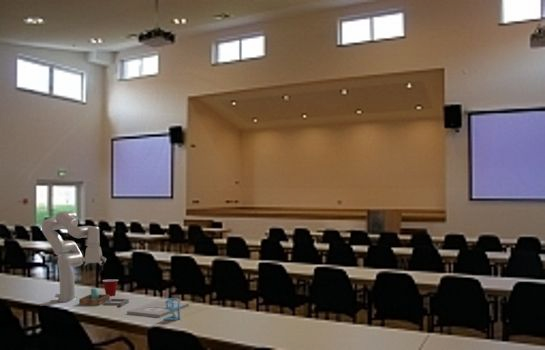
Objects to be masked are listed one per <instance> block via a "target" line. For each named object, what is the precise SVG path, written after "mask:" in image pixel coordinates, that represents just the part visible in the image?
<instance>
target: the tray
mask: <svg viewBox="0 0 545 350" xmlns="http://www.w3.org/2000/svg"><path fill="white" fill-rule="evenodd" d="M129 301H130V299H129V298H110V300H108V301H106V302H104V303H103V304H102V305H103V306H116V307H117V308H122V307H123V306H125V305H127V304H128V303H130V302H129Z"/></svg>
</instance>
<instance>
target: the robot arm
mask: <svg viewBox="0 0 545 350" xmlns="http://www.w3.org/2000/svg"><path fill="white" fill-rule="evenodd" d="M78 225H79V220H78V215H77V213H76V212H74V211H73V210H70V211H60V212H58V213H57V214H55V217H51V218H49V217H48V218H46V219H44V220H43V221H42V222H41V231H42V233H43V235H44V237H45V238H46V239H47V241H48V242H49V243H48V244H50V247H51V249H52V250H53V252H54V253H55V255H57V256H59V257H58V258H57V267H58V272H59V293H55V296H54V297H55V298H57V302H60V303H68V302H71V301H73V300H76V299H77V298H78V297H77V296H76V293H75V292H76V291H75V289H76V288H75V287H76V285H75V272H74V270H73V269H72V268H75V267H80V266H82V265H84V266H85V269H84V271H85V272H89V271H90V264H99V269H98V270H99V272H102V271H104V264H105V263H106V261H107V258H106V257H105V256H103V251H102V247H101V246H100V245H101V244H100V243H101V242H100V227H99V226H92V225H83V226H78ZM65 229H66V231H67V233H68V234H69V235H70V236H72V237H73V238H76V239H81V238H87V243H86V244H85V246H87V247H86V249H85V254H84V255H85V256H84V255H83V254H82V252H81V250H80V247H78V244H77V243H76V242H75V240H64V239H63V237H62V235H60V234H59V233H58V231H57V230H65Z"/></svg>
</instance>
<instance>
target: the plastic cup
mask: <svg viewBox="0 0 545 350" xmlns="http://www.w3.org/2000/svg"><path fill="white" fill-rule="evenodd" d="M118 282H119V279H114V278H113V279H103V280H102V283H103V287H104V292H105V295H110V297H115V296H116V292H117V287H118Z"/></svg>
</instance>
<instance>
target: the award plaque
mask: <svg viewBox="0 0 545 350" xmlns="http://www.w3.org/2000/svg"><path fill="white" fill-rule="evenodd" d="M165 301H166V300H155V301H152V302H150V303H147V304H143V305H141V306H137V307H136V308H132V309H130V310H127V311H126V314H127V315H131V316H132V315H134V316H140V317H141V316H143V317H150V318H151V317H152V318H153V317H154V318H159V319H160V318H162V317H164V316H168V315H170V314H172V313H171V311H170V310H168V309H165V307H166V306H167V305H166V302H165ZM173 302H174V305H175V306H178V303H179V302H178V301H173ZM167 304H168V307H169V306H172V303H170V302H168V303H167ZM179 306H181V308H180V310H183V309H185V308H188V307H189V306H190V303H188V302H180V303H179ZM173 312H174V313H175V312H178V311H177V309H175V310H173Z"/></svg>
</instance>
